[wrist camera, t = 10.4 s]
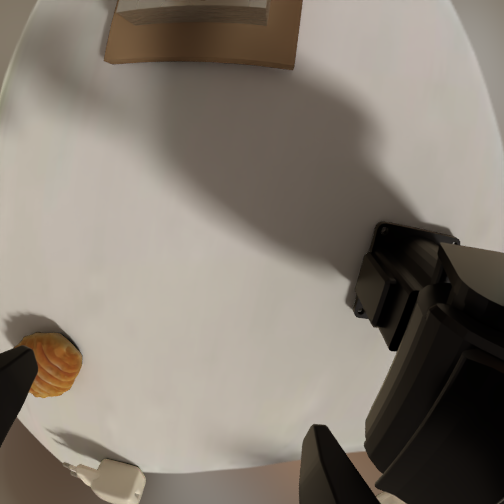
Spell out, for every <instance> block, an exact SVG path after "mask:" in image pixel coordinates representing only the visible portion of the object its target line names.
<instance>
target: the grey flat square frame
mask: <svg viewBox="0 0 504 504" xmlns="http://www.w3.org/2000/svg"><path fill="white" fill-rule="evenodd" d="M270 3H271V0H119V3H118V7H117V11H116V13H118V14H119V15H120V16H122V17H123V18H125V19H126V20H128V21H129V22H130V23H132V24H133V25H135V26H137V25H147V24H161V23H182V22H218V23H239V24H253V25H263V26H267V22H268V16H269V9H270Z"/></svg>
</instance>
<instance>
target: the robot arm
mask: <svg viewBox="0 0 504 504" xmlns="http://www.w3.org/2000/svg"><path fill="white" fill-rule="evenodd" d="M383 227H386V231H385V232H384V233H381V229H382V228H383ZM453 242H455V243H454V244H452V243H453ZM355 292H356V294H357V297H356V300H355V303H354V306H353V312H354V314H355V316H356V317H358V318H365V319H369V320H370V323H371V324H372V326H373V327H376V328H379V330H380V332H381V334H382V336H383V338H384V340H385V342H386V344H387V346H388V348H389V350H390V351H397V353H396V355H395V358H394V360H393V363H392V365H391V367H390V369H389V372H388V374H387V376H386V378H385V380H384V383H383V385H382V387H381V389H380V391H379V393H378V395H377V397H376V399H375V401H374V403H373V405H372V407H371V410H370V412H369V414H368V416H367V419H366V422H365V438H366V441H365V442H364V447H365V449H366V452H367V454H368V457H369V458H370V460H371V461H372V462H373V463H374V465H375V466H376V468H377V469H378V470H379V471H380V472H381V473H382V474H383V475H382V476H381V477H380V478H379V479H378V480H377V482H376V483H375V487H376V488H377V489H380V490H382V491H385V492H387V493H390V494H392V495H395V496H396V497H397V498H399V499H400V500H402V501H403V502H405V503H406V504H504V253H501V252H496V251H490V250H484V249H478V248H473V247H467V246H461V245H460V241H459V239H457V238H456V237H454V236H450V235H446V234H441V233H437V232H432V231H428V230H423V229H419V228H414V227H409V226H404V225H400V224H395V223H390V222H385V221H382V222H379V223H378V224H377V225H376V227H375V231H374V235H373V239H372V243H371V247H370V251H369V252H368V253H367V254H365V256H364V259H363V263H362V267H361V270H360V274H359V278H358V281H357V285H356V288H355ZM360 308H364V309H363V310H362V311H361V312H358V310H359V309H360ZM37 373H38V364H37V361H36V357H35V354H34V351H33V350H32V349H31V348H29V347H27V346H25V345H21V346H18V347H16V348H13V349H11V350H8V351H5V352H3V353H0V447H1V445H2V443H3V441H4V439H5V437H6V435H7V433H8V431H9V430H10V428H11V426H12V424H13V422H14V421H15V419H16V417H17V415H18V413H19V412H20V410H21V408H22V406H23V404H24V402H25V399H26V397H27V395H28V393H29V391H30V388H31V386H32V384H33V382H34V380H35V378H36V375H37ZM299 504H381V503H380V502H379V500H378V499H377V498H376V496H375V495H374V493H373V492H372V491H371V489H370V488H369V486H368V485H367V484H366V482H365V481H364V479H363V478H362V476H361V475H360V474H359V472H358V471H357V469H356V468H355V467H354V465H353V463H352V462H351V461H350V459H349V458H348V457H347V455H346V453H345V452H344V450H343V449H342V448H341V446H340V445H339V443H338V442H337V440H336V439H335V437H334V436H333V434H332V433H331V431H330V430H329V428H328V427H327V426H326V425H320V424H313V425H312V426H311V427H310V429H309V431H308V433H307V434H306V436H305V438H304V440H303V444H302V456H301V468H300V481H299Z"/></svg>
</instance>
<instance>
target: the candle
mask: <svg viewBox="0 0 504 504" xmlns="http://www.w3.org/2000/svg"><path fill="white" fill-rule="evenodd" d="M376 498H377V499H378V500H379V502H380V503H381V504H406V503H405V502H403V501H402V500H400V499H399V498H397V497H396V496H395V495H392V494H390V493H387V492H385V491H384V492H383V493H380V494H378V495H377V496H376Z"/></svg>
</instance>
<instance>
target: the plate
mask: <svg viewBox="0 0 504 504" xmlns="http://www.w3.org/2000/svg"><path fill="white" fill-rule="evenodd" d="M302 2H303V0H271V3H270V9H269V16H268V22H267V26H263V25H253V24H239V23H218V22H182V23H161V24H147V25H137V26H135V25H133V24H132V23H130V22H129V21H128V20H126V19H125V18H123V17H122V16H120V15H119V14H118V13H116V11H117V7H118V3H119V0H118V1H117V4H116V8H115V12H114V16H113V20H112V24H111V28H110V32H109V37H108V42H107V46H106V51H105V57H104V61H105V62H108V63H110V64H124V63H138V62H164V61H193V62H219V63H234V64H246V65H256V66H265V67H273V68H280V69H287V70H293V68H294V64H295V57H296V49H297V41H298V34H299V26H300V18H301V10H302Z"/></svg>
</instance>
